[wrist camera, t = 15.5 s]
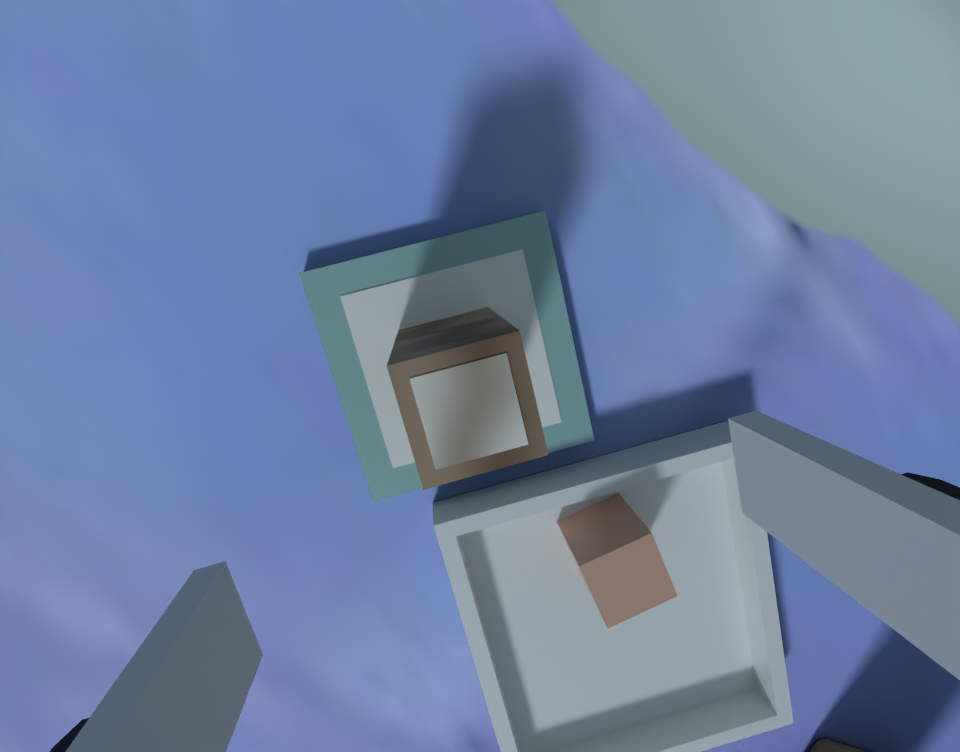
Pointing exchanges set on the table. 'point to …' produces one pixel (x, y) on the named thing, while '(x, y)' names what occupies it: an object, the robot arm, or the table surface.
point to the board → (437, 295)
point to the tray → (636, 641)
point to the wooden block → (833, 747)
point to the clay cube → (617, 559)
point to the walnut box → (465, 396)
